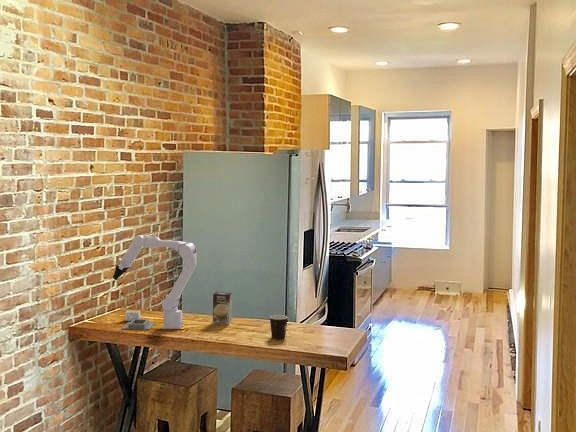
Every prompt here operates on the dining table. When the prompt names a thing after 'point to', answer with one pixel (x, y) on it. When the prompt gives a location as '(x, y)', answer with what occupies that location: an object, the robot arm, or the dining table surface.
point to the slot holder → (139, 324)
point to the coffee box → (222, 308)
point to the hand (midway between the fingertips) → (116, 277)
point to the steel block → (132, 315)
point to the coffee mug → (278, 326)
